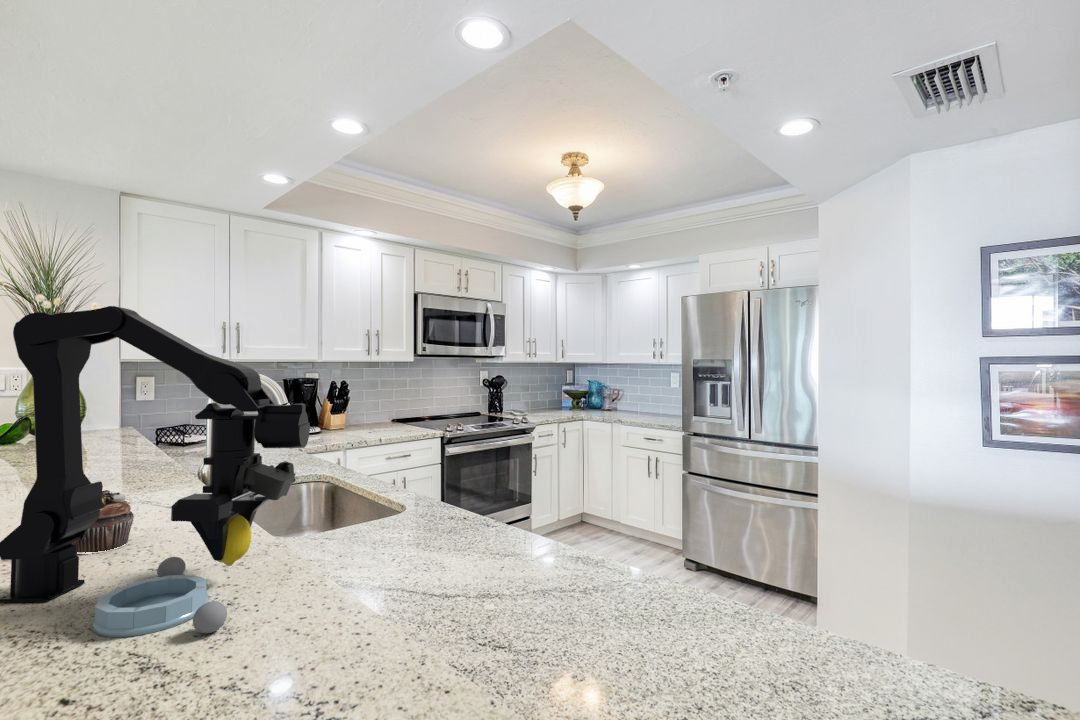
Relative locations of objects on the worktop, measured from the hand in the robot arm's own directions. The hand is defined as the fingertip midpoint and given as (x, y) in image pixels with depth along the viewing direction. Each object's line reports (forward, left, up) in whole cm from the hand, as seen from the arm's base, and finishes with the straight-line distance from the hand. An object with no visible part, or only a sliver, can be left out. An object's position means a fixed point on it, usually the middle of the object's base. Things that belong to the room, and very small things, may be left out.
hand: (229, 553), depth 77 cm
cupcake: (-32, +17, -5) cm, 37 cm away
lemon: (0, 0, -2) cm, 2 cm away
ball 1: (-9, +1, -4) cm, 10 cm away
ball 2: (+6, -15, -4) cm, 17 cm away
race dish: (-4, -10, -4) cm, 12 cm away
